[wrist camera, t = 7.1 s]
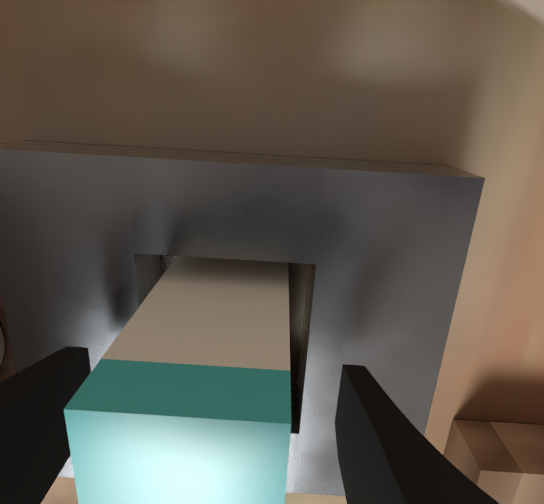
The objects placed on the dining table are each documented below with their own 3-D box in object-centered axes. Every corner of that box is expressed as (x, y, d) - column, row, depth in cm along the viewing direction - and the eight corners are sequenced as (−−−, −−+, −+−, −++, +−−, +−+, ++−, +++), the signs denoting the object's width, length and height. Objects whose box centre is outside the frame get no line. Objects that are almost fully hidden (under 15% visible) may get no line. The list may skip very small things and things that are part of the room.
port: (449, 165, 13) (485, 178, 11) (391, 446, 17) (408, 500, 15) (27, 140, 13) (-29, 147, 11) (70, 425, 17) (36, 474, 15)
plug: (288, 259, 14) (291, 423, 7) (280, 374, 16) (275, 606, 9) (178, 253, 14) (63, 408, 7) (182, 368, 16) (92, 593, 9)
